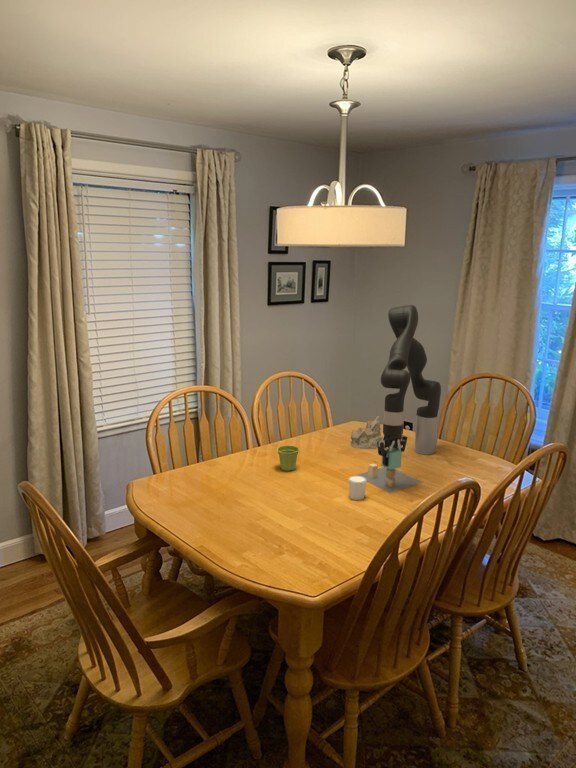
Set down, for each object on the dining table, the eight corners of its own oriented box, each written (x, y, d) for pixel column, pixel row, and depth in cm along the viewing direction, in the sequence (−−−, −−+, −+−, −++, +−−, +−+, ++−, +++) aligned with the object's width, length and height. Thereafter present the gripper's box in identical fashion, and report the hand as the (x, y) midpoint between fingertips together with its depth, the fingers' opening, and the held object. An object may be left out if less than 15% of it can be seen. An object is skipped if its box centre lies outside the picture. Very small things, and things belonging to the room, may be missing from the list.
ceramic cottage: (384, 438, 274) (383, 409, 270) (383, 451, 258) (382, 420, 254) (352, 438, 277) (351, 409, 273) (349, 450, 261) (347, 420, 257)
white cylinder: (367, 494, 211) (368, 476, 209) (364, 501, 205) (364, 483, 203) (349, 491, 213) (350, 474, 212) (345, 498, 207) (346, 481, 205)
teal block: (391, 462, 218) (392, 446, 217) (400, 467, 214) (401, 450, 213) (381, 465, 216) (382, 449, 214) (390, 469, 211) (391, 453, 210)
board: (387, 468, 236) (388, 455, 235) (423, 484, 220) (424, 470, 219) (354, 477, 226) (355, 463, 225) (389, 495, 210) (390, 480, 209)
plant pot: (273, 470, 233) (273, 451, 231) (282, 463, 241) (282, 444, 239) (294, 474, 230) (294, 454, 228) (302, 466, 238) (302, 446, 236)
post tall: (390, 483, 218) (391, 467, 217) (395, 485, 216) (395, 469, 215) (385, 484, 217) (386, 469, 215) (390, 487, 215) (390, 471, 213)
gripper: (399, 416, 218) (397, 457, 222) (372, 422, 210) (370, 465, 214) (414, 421, 212) (411, 463, 216) (386, 427, 204) (384, 471, 208)
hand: (391, 464), depth 215 cm, fingers closed on teal block, 5 cm apart
